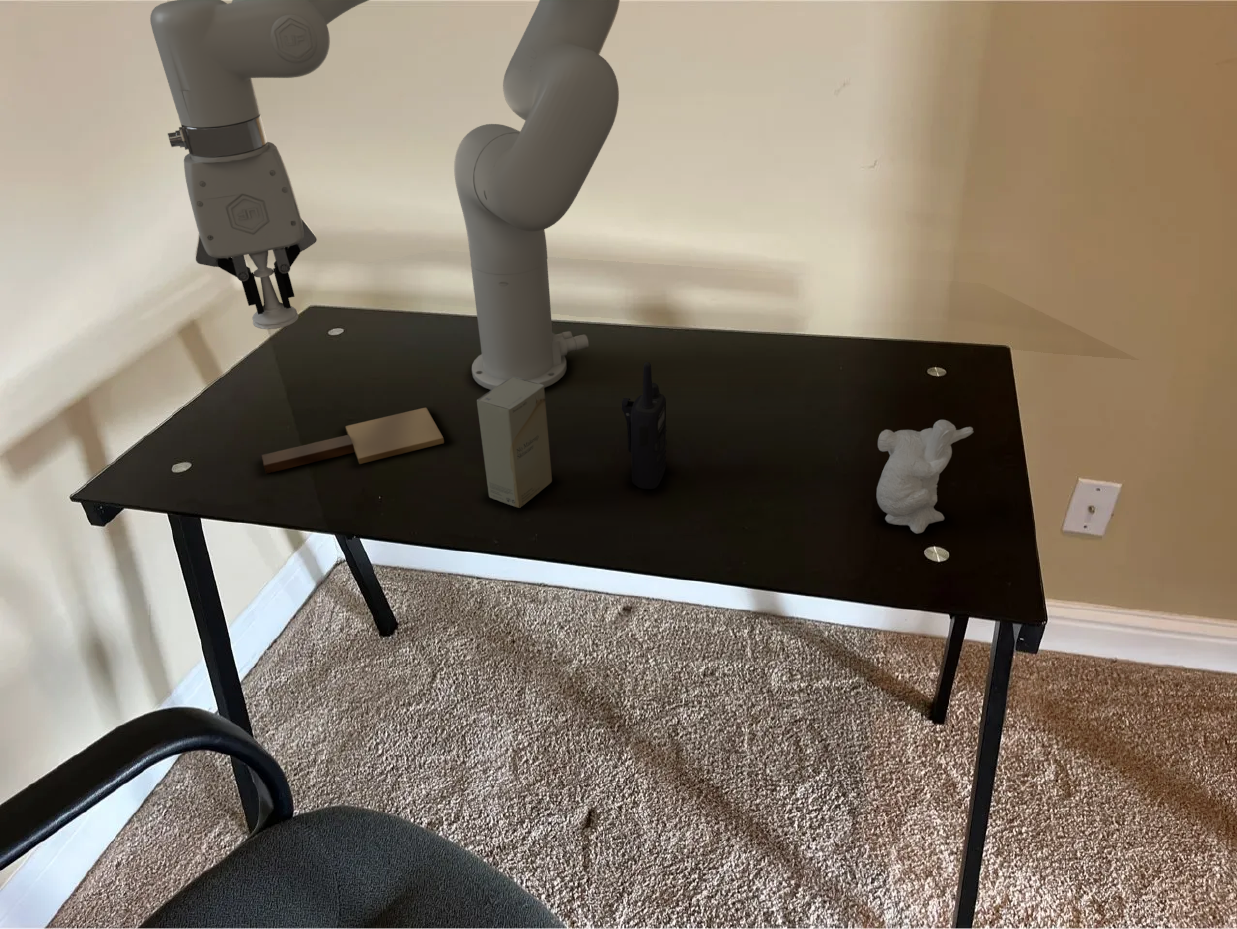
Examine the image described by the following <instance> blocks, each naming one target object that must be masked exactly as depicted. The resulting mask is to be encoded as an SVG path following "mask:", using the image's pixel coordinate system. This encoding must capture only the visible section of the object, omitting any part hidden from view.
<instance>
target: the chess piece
mask: <svg viewBox="0 0 1237 929" xmlns="http://www.w3.org/2000/svg"><path fill="white" fill-rule="evenodd" d="M248 257H249V258H250V260H252V262H253V264H254V265H255V267H256V270H254V271H253V274H254V277H255V278H260V284H261V289H262V290H261V291H262V298H263V304H262V305H263V309H264V312H263V314H258V312H257V311H256V312H254V313H253V315H252V318H251V319H252V324H253V326H254V327H255V328H257V329H262V330H277V329H281V328H285V327H288V326H290V325H292V324H294V323H295V322H297V321H298V319H299V313H298V311H297V309H296V308H295V307H294V306H292V305H291V308H288V309H286V308H284V306H283V303H282V301H281V302H280V300H279V298H278V295H277V292H276V290H275V288H274V285H273V282H272V280H271V277H270V276H272V275H274V270H273V268H271V267H268V264H269V263H268V262H269V261H268V259H269V251H263V252H258V253H252V254H248Z"/></svg>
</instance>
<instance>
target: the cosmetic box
mask: <svg viewBox="0 0 1237 929" xmlns="http://www.w3.org/2000/svg"><path fill="white" fill-rule="evenodd" d="M476 406H477V413H478V421H479V422H478V423H479V428H480V429H479V431H480V436H481V445H482V453H483V460H484V469H485V475H486V484H487V485H486V486H487V493H488V497H489V499H492V500H495V501H498V502H500V503H504V504H505V505H508V506H511V507H513V508H517V509H520V508H522V507H523V506H524V505H526V504H528V502H529V501H530V500H532V499H533V498H534V497H536V496H537V495H538V494H540V493H541V492H542V491H543V490H544V489H545V488H546V487H548V486H550V484H551V483H552V482H553V477H552V464H551V454H550V452H551V451H550V442H549V441H550V440H549V439H550V438H549V429H548V418H547V406H546V393H545V388H544V385H542V384H538V383H535V382H531V381H528V380H525V379H521V378H518V377H510V378H509V379H507V380H506V381H504V382H503V383H501V384H500V385H498V386H497V387H495V388H494V389H492V390H489V391H488V392H486V393H485V394H483V395H481V396H480V397H479V398H478V399H476Z"/></svg>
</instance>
